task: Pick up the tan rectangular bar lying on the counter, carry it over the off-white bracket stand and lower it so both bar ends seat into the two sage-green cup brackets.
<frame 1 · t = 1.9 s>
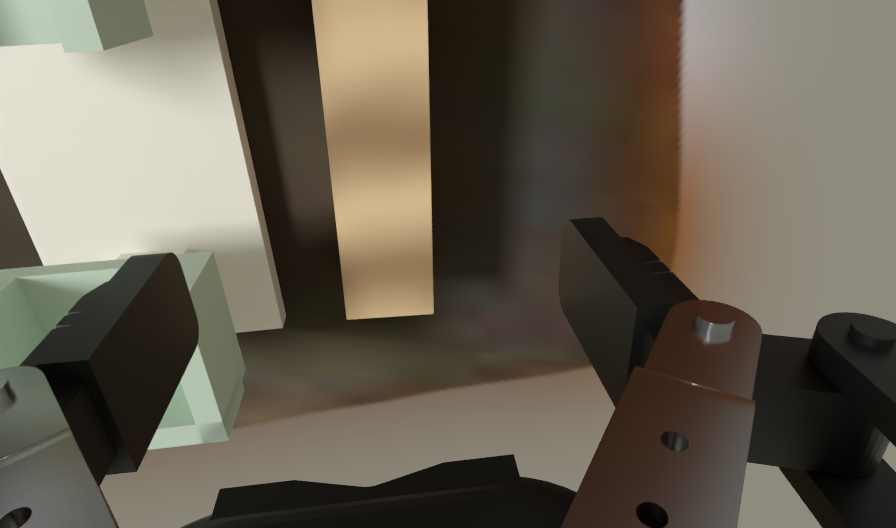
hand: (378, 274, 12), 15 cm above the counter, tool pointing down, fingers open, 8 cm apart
tan rectangular bar: (378, 108, 25), on the counter
bracket stand: (126, 127, 24), on the counter
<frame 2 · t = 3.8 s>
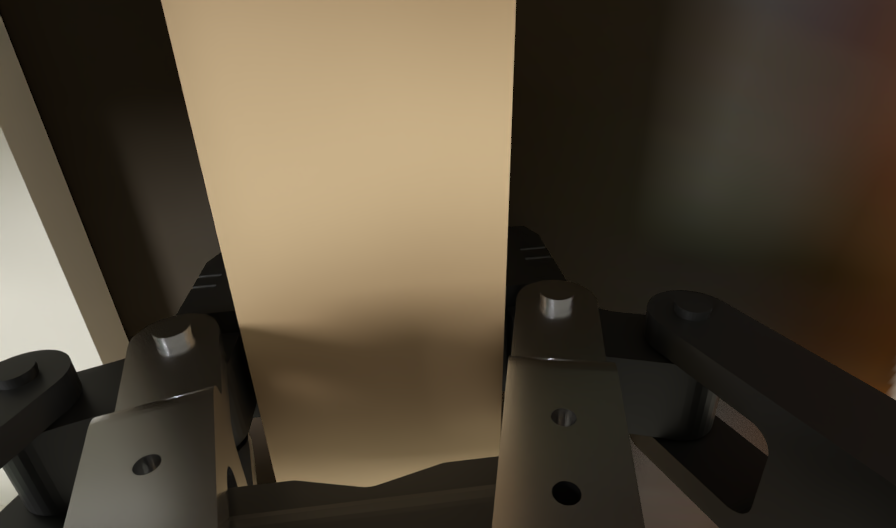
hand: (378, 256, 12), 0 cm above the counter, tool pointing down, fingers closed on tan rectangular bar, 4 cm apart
tan rectangular bar: (379, 245, 13), on the counter, touching gripper
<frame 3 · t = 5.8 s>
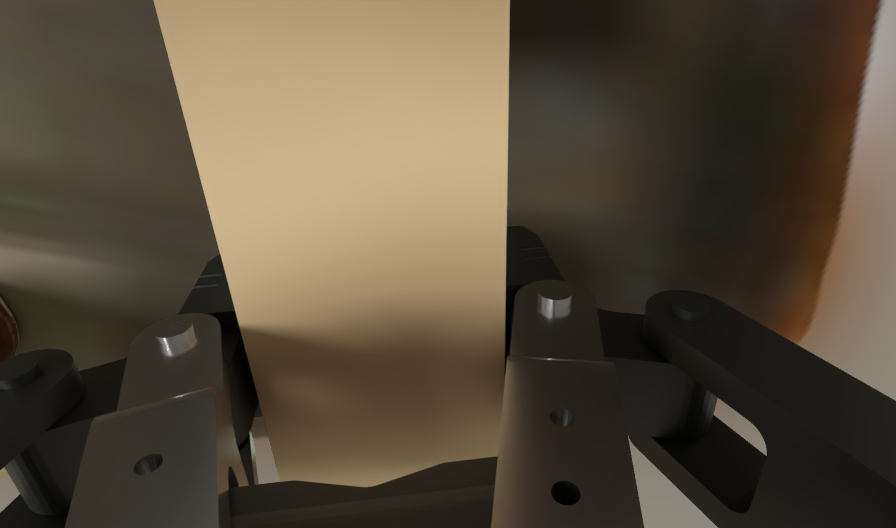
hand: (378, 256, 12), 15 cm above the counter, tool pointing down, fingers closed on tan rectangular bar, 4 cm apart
tan rectangular bar: (380, 246, 13), point 14 cm above the counter, touching gripper
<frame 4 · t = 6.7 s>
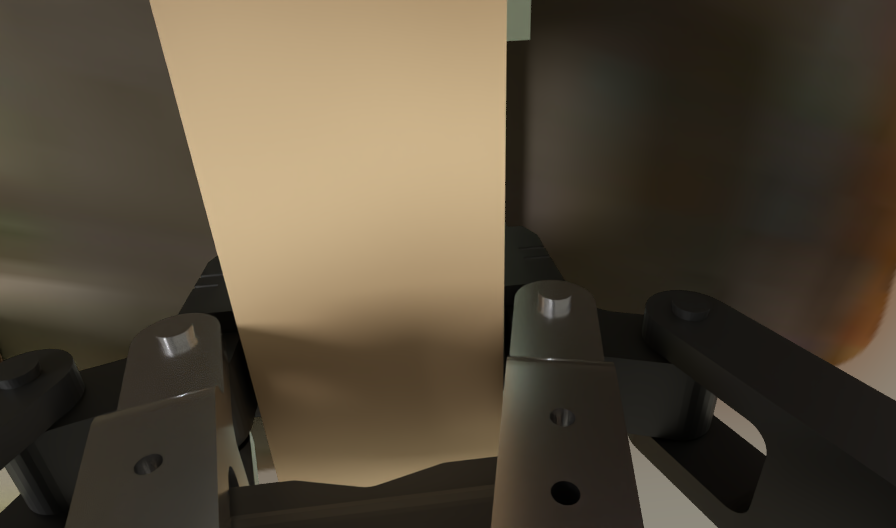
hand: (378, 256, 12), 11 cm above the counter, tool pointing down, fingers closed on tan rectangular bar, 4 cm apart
tan rectangular bar: (379, 247, 13), point 11 cm above the counter, touching gripper
bracket stand: (377, 125, 22), on the counter
when the fingers open (8 cm above the counter, at t = 7.7 s): tan rectangular bar drops 1 cm, resting on bracket stand.
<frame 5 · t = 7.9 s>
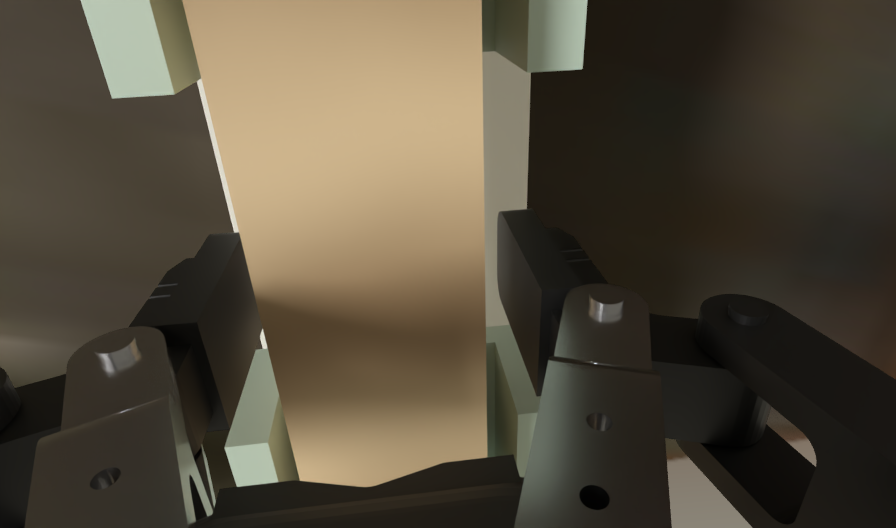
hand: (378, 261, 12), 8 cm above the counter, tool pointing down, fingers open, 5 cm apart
tan rectangular bar: (376, 222, 14), point 6 cm above the counter, touching bracket stand
bracket stand: (378, 157, 19), on the counter
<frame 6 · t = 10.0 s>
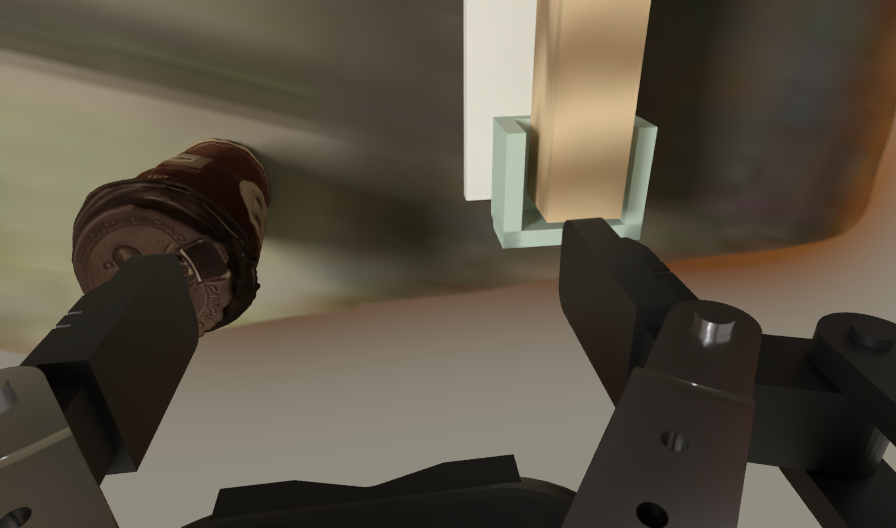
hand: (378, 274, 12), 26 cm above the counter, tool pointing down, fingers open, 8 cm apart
tan rectangular bar: (571, 39, 29), point 6 cm above the counter, touching bracket stand
bracket stand: (543, 31, 34), on the counter
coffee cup: (226, 185, 37), on the counter
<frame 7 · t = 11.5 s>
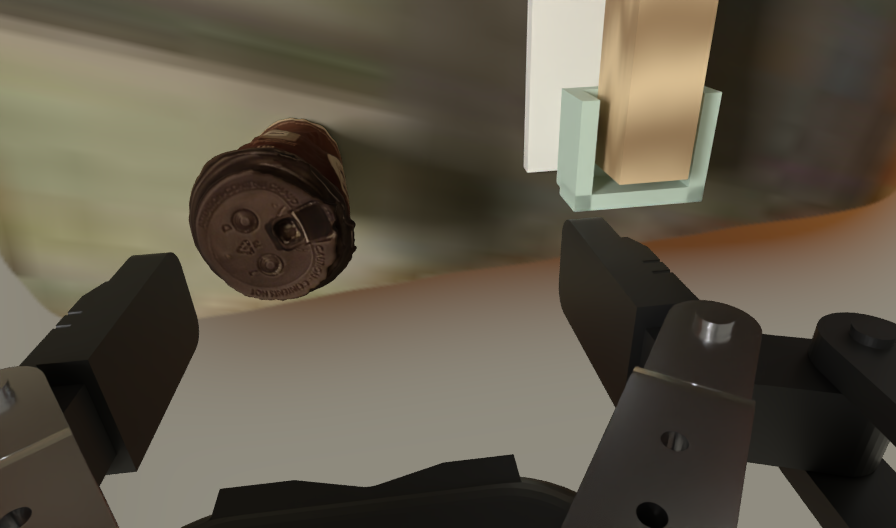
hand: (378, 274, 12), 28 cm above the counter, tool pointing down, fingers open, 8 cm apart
tan rectangular bar: (638, 11, 31), point 6 cm above the counter, touching bracket stand
bracket stand: (602, 7, 36), on the counter
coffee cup: (301, 162, 39), on the counter
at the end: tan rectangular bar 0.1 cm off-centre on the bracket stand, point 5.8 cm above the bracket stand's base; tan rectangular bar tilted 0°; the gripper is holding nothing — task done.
